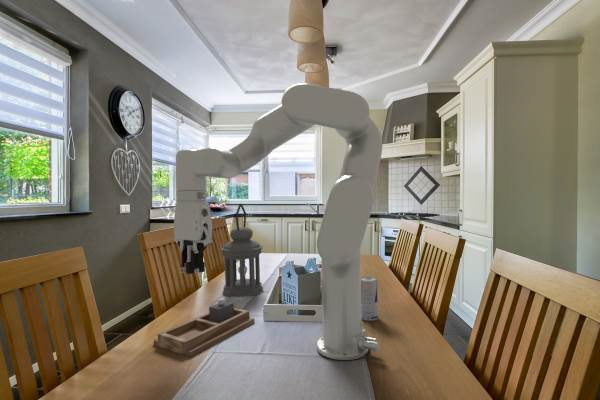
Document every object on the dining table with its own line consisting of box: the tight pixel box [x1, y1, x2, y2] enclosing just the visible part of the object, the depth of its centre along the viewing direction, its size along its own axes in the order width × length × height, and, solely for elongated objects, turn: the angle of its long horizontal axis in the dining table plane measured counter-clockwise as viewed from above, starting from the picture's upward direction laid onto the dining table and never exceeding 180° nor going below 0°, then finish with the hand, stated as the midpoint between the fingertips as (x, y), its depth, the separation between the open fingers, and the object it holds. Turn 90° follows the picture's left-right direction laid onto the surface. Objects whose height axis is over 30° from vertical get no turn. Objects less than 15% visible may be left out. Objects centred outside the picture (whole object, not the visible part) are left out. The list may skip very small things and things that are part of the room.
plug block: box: [208, 298, 235, 323], centre depth 98 cm, size 4×6×7 cm, turn 149°
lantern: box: [220, 203, 264, 298], centre depth 133 cm, size 17×17×35 cm
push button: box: [178, 239, 206, 275], centre depth 88 cm, size 7×5×10 cm
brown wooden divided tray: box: [153, 307, 255, 358], centre depth 94 cm, size 14×24×3 cm, turn 149°
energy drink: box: [361, 276, 379, 322], centre depth 101 cm, size 5×5×12 cm
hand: (192, 266), depth 88 cm, fingers closed on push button, 3 cm apart
